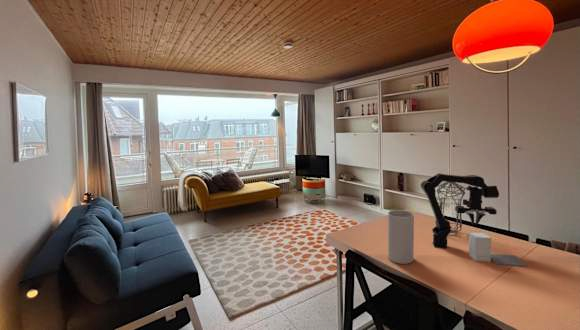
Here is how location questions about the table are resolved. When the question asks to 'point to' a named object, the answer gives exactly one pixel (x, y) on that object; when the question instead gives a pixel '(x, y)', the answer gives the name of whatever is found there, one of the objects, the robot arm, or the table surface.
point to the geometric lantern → (453, 199)
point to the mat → (507, 260)
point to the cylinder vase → (401, 236)
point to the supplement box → (480, 247)
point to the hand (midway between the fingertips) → (474, 224)
